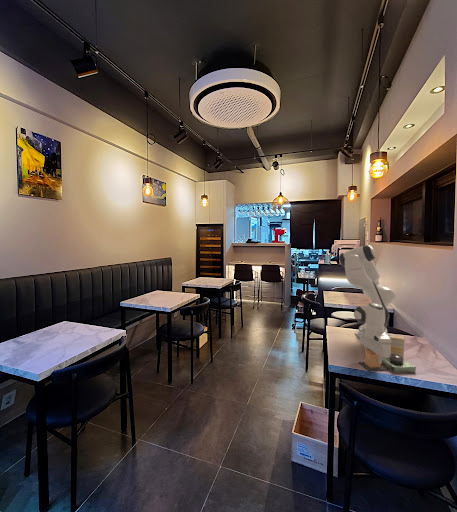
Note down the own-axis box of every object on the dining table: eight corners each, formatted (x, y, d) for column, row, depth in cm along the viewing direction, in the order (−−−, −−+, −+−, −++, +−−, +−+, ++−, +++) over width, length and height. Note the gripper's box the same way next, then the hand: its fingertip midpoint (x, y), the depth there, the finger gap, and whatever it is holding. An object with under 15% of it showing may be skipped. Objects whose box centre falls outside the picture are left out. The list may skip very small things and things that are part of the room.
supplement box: (401, 358, 147) (403, 336, 146) (403, 361, 143) (405, 339, 142) (385, 355, 150) (386, 333, 150) (386, 358, 146) (388, 336, 145)
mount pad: (358, 362, 140) (358, 361, 140) (376, 362, 141) (376, 361, 141) (368, 371, 131) (368, 369, 131) (388, 370, 132) (388, 369, 132)
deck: (377, 361, 141) (378, 351, 141) (397, 361, 142) (398, 351, 142) (393, 372, 129) (394, 361, 129) (415, 372, 130) (416, 361, 130)
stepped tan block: (364, 363, 138) (365, 349, 137) (375, 363, 138) (375, 349, 138) (370, 367, 133) (370, 353, 133) (380, 367, 134) (381, 352, 133)
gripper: (357, 327, 145) (356, 350, 146) (382, 341, 124) (380, 367, 125) (367, 327, 145) (366, 350, 146) (393, 341, 125) (392, 367, 126)
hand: (373, 358), depth 135 cm, fingers open, 8 cm apart
